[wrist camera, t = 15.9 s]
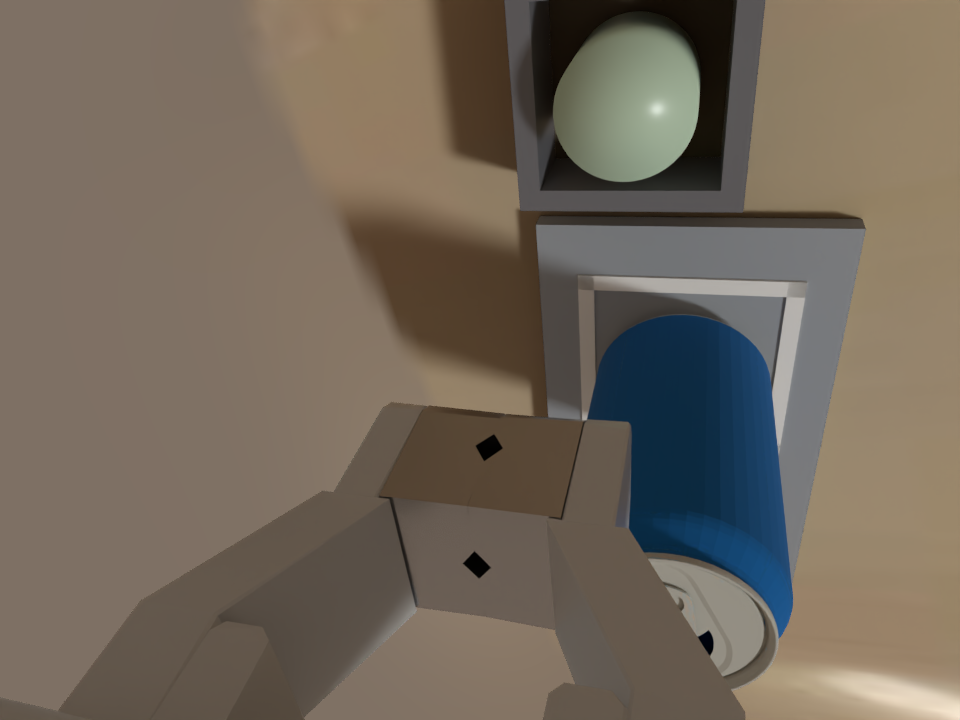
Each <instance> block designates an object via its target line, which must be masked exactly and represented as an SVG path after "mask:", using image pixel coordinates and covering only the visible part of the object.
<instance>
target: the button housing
mask: <svg viewBox="0 0 960 720" xmlns="http://www.w3.org/2000/svg"><path fill="white" fill-rule="evenodd" d="M504 3H505V16H506V29H507V43H508V56H509V69H510V82H511V95H512V108H513V121H514V134H515V148H516V161H517V174H518V187H519V200H520V211H610V212H738V213H743V208H744V198H745V189H746V179H747V170H748V160H749V151H750V141H751V132H752V122H753V113H754V103H755V94H756V84H757V75H758V65H759V56H760V46H761V37H762V27H763V18H764V8H765V0H734V1H733V13H732V25H731V37H730V49H729V61H728V73H727V86H726V98H725V110H724V122H723V134H722V146H721V157H678V159H677V160H676V161H675V162H674V163H672V164H671V165H670V166H669V167H667V168H666V169H664V170H663V171H661V172H659V173H658V174H655V175H653V176H651V177H648V178H645V179H642V180H637V181H632V182H614V181H609V180H605V179H601V178H598V177H596V176H594V175H591V174H589V173H588V172H586V171H585V170H583V169H581V168H580V167H579V166H578V165H577V164H575V163H574V162H573V161H572V159H571V158H556V151H555V129H554V119H553V85H552V63H551V41H550V19H549V0H504Z"/></svg>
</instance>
